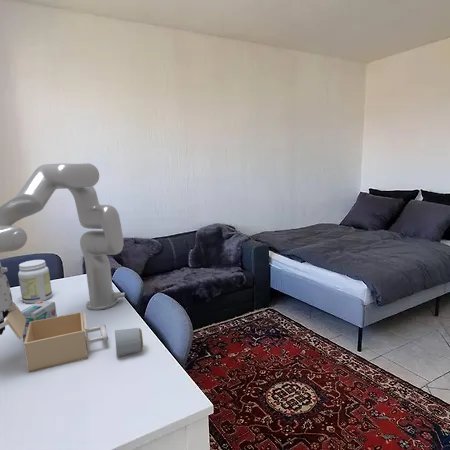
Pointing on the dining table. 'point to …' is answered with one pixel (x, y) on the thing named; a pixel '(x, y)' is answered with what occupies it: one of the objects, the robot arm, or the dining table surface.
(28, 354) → the carton
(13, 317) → the flap
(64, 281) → the dining table surface
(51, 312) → the light bulb box
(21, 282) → the supplement tub
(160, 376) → the dining table surface
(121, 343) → the ceramic mug
